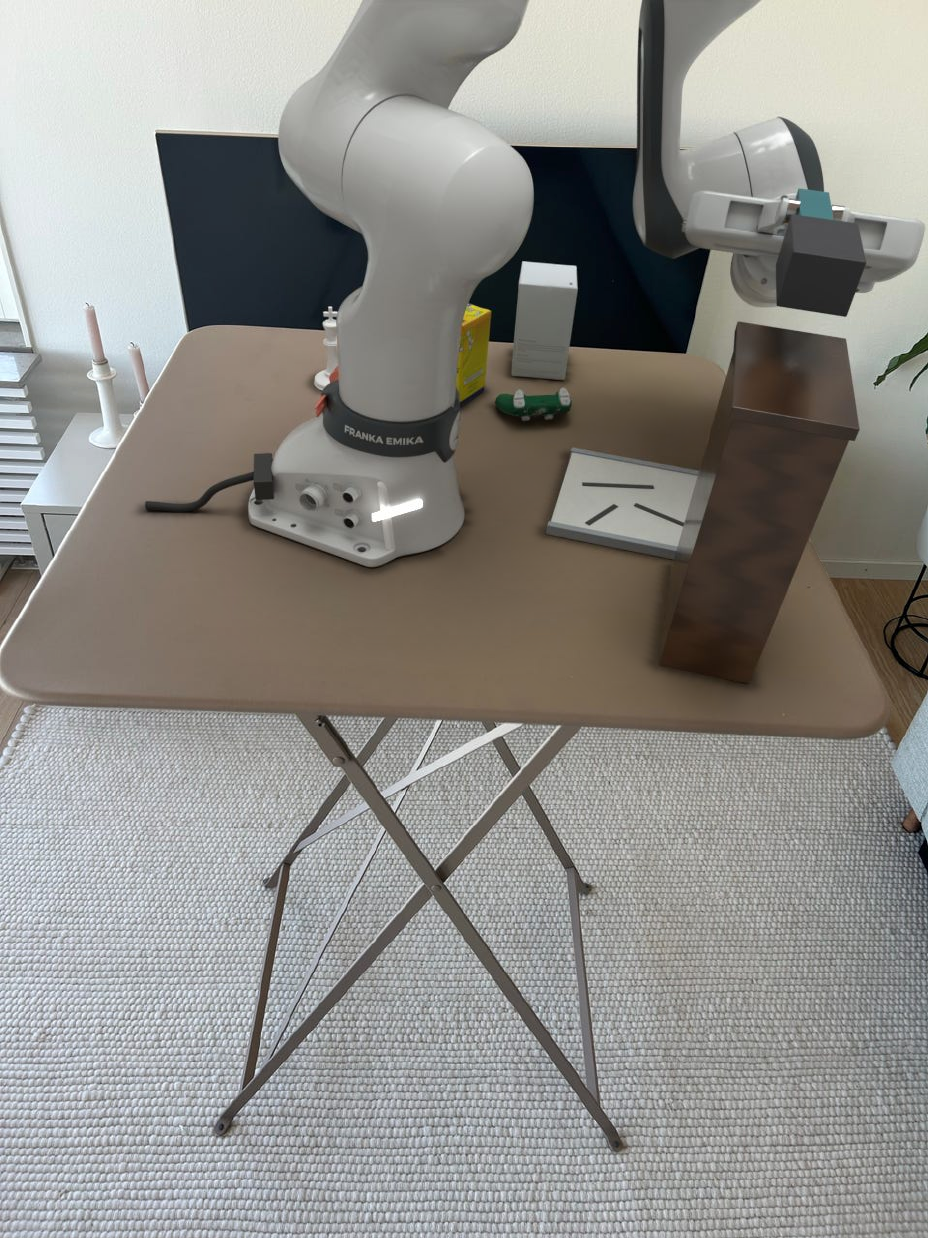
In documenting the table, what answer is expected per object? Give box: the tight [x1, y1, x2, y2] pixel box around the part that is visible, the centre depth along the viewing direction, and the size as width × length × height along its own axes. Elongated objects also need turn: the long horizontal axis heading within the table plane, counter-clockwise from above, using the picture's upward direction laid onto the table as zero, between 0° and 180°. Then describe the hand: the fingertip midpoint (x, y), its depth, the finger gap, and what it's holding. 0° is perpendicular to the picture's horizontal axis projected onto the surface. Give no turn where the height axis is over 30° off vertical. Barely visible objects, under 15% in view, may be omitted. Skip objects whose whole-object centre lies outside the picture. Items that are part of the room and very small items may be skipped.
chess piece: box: [313, 306, 338, 391], centre depth 109 cm, size 5×5×10 cm
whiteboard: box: [545, 447, 699, 561], centre depth 96 cm, size 18×16×1 cm
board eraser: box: [776, 188, 866, 318], centre depth 69 cm, size 5×19×4 cm, turn 166°
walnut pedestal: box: [658, 320, 861, 685], centre depth 75 cm, size 9×15×26 cm, turn 166°
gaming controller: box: [494, 387, 573, 422], centre depth 108 cm, size 9×4×6 cm
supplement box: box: [456, 302, 492, 408], centre depth 109 cm, size 6×6×11 cm
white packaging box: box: [511, 260, 579, 381], centre depth 115 cm, size 7×7×13 cm
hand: (815, 212), depth 72 cm, fingers closed on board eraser, 2 cm apart
